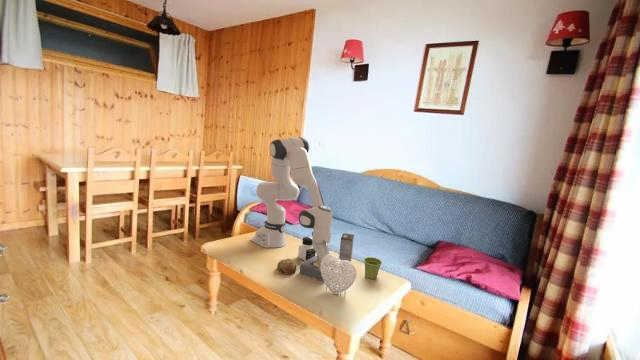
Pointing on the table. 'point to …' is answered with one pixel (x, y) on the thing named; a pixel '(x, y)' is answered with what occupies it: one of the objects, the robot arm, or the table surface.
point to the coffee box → (346, 247)
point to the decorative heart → (337, 274)
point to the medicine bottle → (306, 249)
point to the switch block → (312, 269)
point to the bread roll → (286, 266)
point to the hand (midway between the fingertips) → (319, 263)
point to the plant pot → (372, 267)
